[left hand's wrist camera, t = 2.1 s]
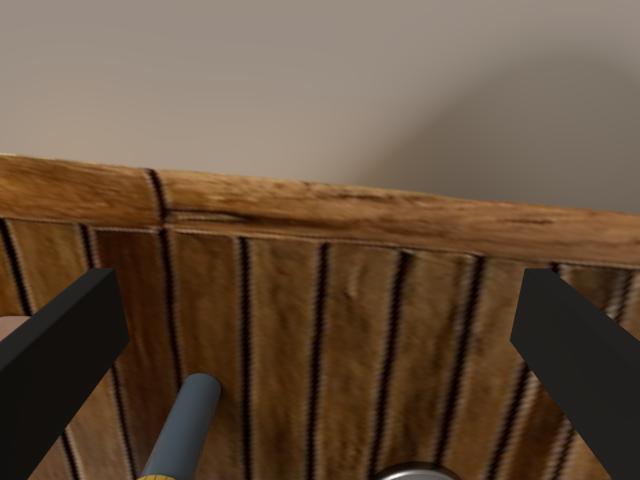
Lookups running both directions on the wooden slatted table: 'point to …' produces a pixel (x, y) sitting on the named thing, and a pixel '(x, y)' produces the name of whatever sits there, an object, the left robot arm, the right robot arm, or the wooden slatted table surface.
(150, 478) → the lid
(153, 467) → the blue-grey cylinder
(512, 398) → the wooden slatted table surface
